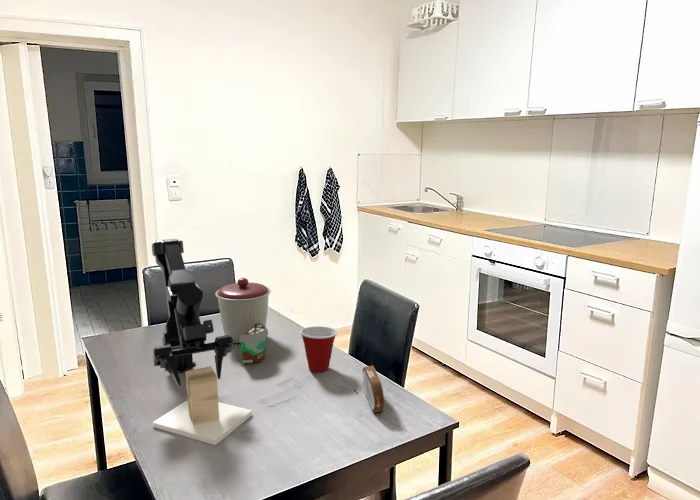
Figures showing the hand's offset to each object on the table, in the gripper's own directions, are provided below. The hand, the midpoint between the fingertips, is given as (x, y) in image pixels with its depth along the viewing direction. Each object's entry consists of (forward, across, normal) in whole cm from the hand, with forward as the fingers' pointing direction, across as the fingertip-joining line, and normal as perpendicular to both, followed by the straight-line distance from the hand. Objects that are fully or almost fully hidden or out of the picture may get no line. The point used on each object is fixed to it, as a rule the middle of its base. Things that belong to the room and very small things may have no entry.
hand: (200, 382), depth 122 cm
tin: (+16, +40, -2) cm, 43 cm away
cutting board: (+8, 0, +5) cm, 9 cm away
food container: (-12, +22, +25) cm, 36 cm away
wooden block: (+7, 0, +4) cm, 8 cm away
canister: (-25, +24, +39) cm, 52 cm away
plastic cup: (-2, +36, +15) cm, 39 cm away
